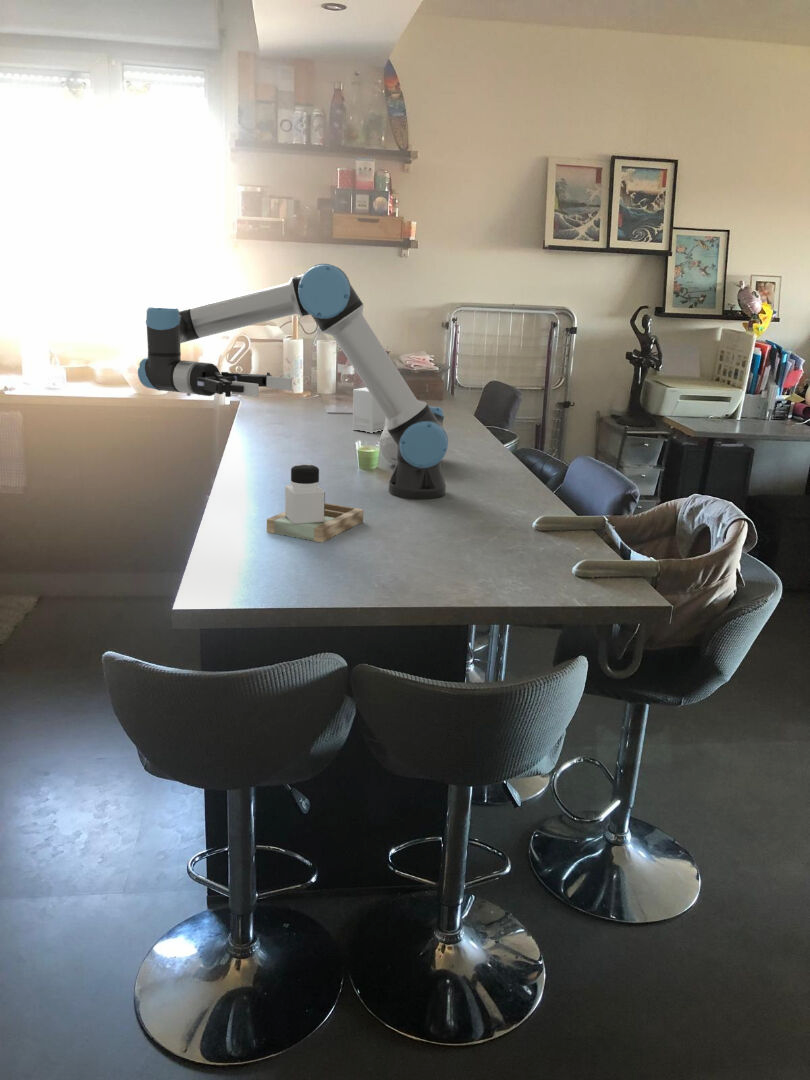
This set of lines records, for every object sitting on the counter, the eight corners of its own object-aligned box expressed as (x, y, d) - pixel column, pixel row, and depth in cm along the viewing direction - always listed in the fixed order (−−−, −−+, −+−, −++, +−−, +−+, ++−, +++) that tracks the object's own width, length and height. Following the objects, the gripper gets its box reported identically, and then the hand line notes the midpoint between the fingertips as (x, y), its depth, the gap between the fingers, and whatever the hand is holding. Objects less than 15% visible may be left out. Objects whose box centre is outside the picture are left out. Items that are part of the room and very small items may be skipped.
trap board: (311, 512, 208) (311, 500, 207) (363, 521, 202) (363, 509, 201) (266, 532, 191) (266, 519, 190) (321, 542, 186) (322, 529, 185)
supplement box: (386, 430, 317) (387, 389, 312) (372, 433, 309) (373, 391, 305) (365, 427, 321) (366, 386, 317) (351, 430, 314) (352, 388, 309)
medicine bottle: (324, 522, 190) (325, 468, 186) (292, 524, 187) (293, 470, 184) (315, 513, 196) (316, 461, 192) (284, 515, 193) (284, 463, 190)
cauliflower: (370, 447, 250) (404, 380, 252) (364, 459, 275) (395, 399, 277) (433, 480, 252) (467, 414, 254) (421, 489, 277) (452, 429, 279)
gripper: (230, 389, 215) (303, 397, 207) (163, 400, 193) (242, 410, 185) (229, 358, 213) (304, 366, 205) (162, 366, 191) (242, 375, 183)
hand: (275, 387), depth 195 cm, fingers open, 13 cm apart
